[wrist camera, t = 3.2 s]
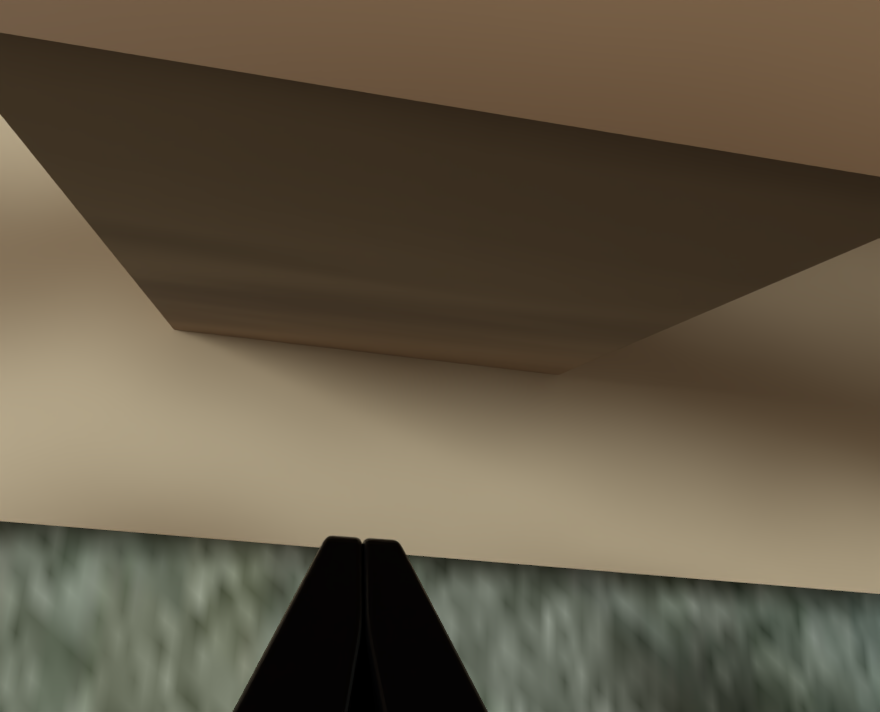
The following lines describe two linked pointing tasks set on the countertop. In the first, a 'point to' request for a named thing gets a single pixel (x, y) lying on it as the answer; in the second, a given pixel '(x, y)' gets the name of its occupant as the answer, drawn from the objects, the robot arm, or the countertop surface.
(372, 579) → the robot arm
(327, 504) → the trap board
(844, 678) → the countertop surface
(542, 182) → the walnut block
